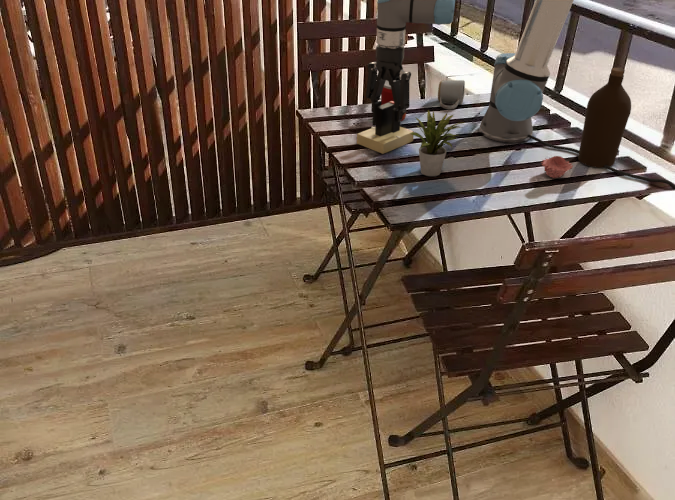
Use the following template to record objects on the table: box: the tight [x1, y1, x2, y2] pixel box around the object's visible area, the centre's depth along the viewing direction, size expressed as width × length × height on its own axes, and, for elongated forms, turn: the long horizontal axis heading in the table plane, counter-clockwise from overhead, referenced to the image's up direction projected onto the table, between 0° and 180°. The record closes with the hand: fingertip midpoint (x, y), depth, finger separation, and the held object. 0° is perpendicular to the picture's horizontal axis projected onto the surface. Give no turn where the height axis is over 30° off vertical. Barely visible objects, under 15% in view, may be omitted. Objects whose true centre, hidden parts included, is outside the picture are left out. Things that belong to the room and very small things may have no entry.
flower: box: [541, 155, 574, 179], centre depth 166 cm, size 8×8×6 cm
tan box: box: [356, 126, 415, 155], centre depth 184 cm, size 13×11×3 cm
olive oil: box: [577, 67, 632, 169], centre depth 169 cm, size 11×11×25 cm
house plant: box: [410, 109, 464, 177], centre depth 163 cm, size 14×14×16 cm
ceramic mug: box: [437, 79, 466, 110], centre depth 210 cm, size 11×8×8 cm
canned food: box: [380, 80, 407, 123], centre depth 198 cm, size 8×8×11 cm
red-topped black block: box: [374, 101, 395, 136], centre depth 181 cm, size 6×2×8 cm, turn 135°
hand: (385, 127), depth 182 cm, fingers open, 6 cm apart
